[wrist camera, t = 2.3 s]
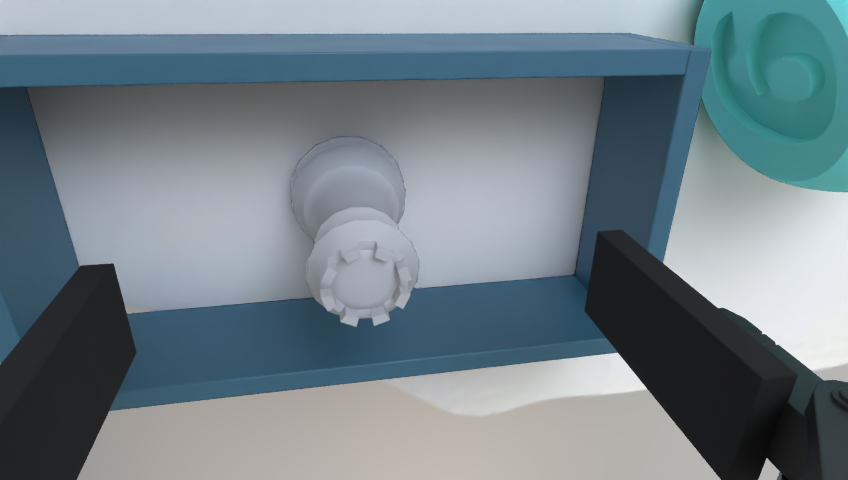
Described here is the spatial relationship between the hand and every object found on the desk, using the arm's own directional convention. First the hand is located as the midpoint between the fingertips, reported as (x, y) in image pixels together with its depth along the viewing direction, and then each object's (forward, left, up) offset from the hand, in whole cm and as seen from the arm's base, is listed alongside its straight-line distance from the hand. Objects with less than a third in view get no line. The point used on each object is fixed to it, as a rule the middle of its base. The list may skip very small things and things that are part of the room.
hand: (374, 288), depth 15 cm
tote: (0, 0, -8) cm, 8 cm away
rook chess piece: (0, 0, -8) cm, 8 cm away
